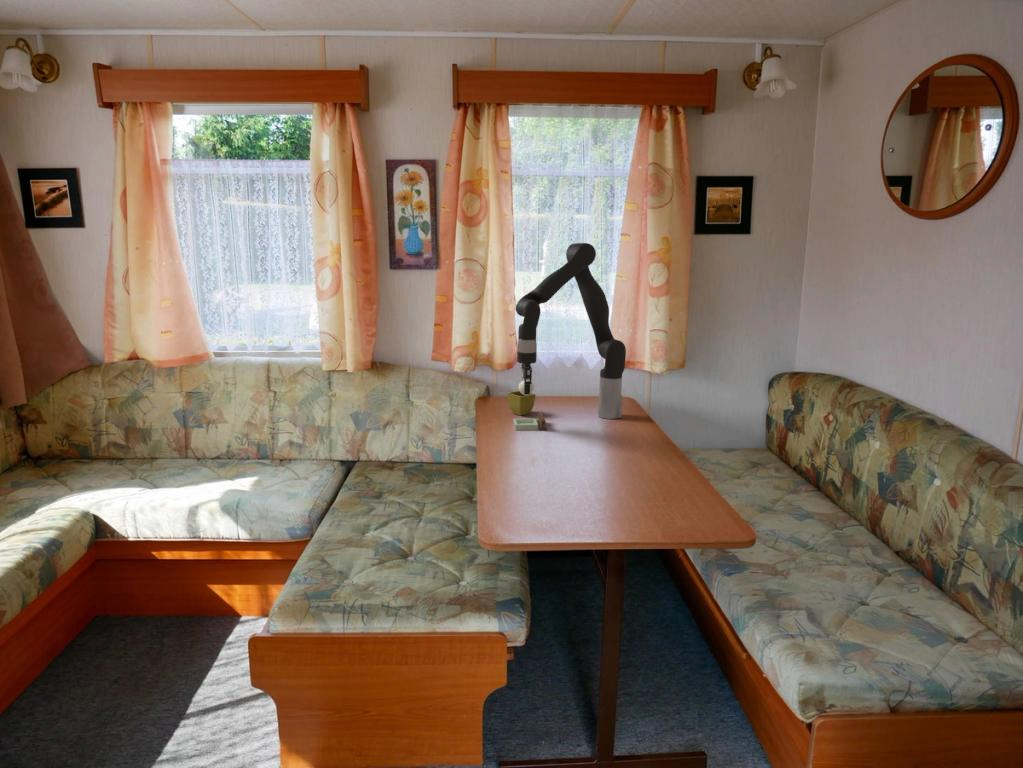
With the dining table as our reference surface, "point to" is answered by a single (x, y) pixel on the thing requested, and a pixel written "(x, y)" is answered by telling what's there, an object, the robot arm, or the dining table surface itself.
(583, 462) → the dining table surface
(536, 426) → the dish
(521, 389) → the ball
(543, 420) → the rail
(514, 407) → the flower pot
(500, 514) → the dining table surface
